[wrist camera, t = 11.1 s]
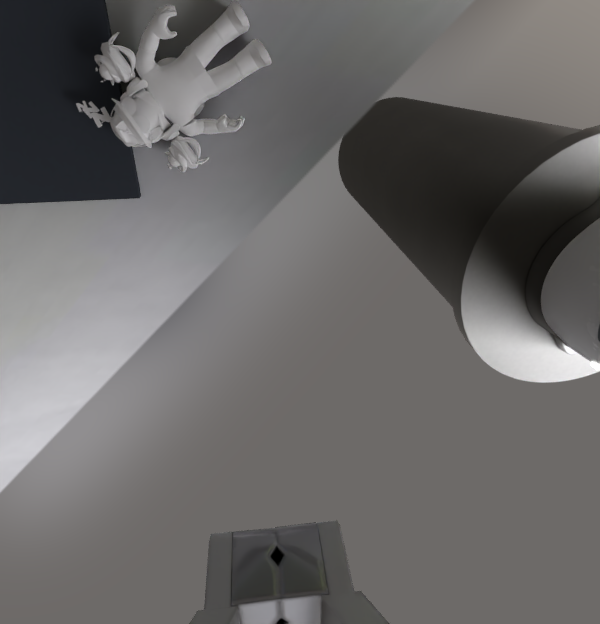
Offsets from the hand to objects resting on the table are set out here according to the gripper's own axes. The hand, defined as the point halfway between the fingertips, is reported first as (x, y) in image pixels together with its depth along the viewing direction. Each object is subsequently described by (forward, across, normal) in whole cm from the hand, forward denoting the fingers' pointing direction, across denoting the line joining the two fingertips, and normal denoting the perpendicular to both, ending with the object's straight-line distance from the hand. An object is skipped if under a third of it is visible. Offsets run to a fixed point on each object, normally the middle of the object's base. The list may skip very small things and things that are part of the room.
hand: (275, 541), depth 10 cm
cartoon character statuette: (+27, -1, -12) cm, 30 cm away
